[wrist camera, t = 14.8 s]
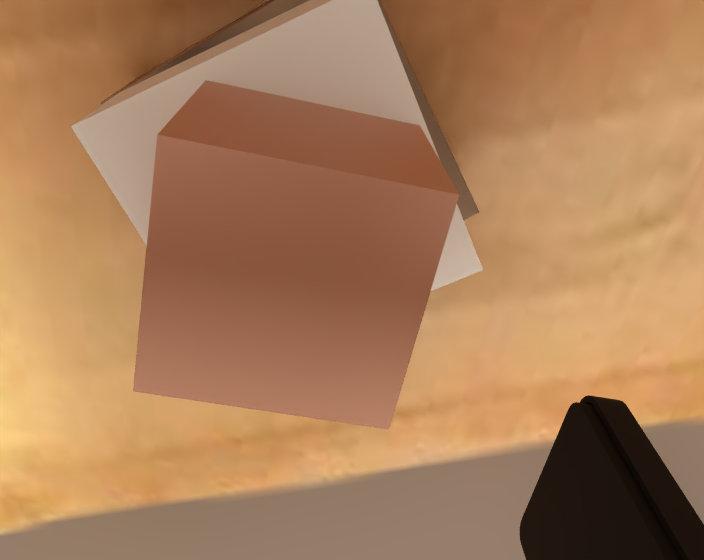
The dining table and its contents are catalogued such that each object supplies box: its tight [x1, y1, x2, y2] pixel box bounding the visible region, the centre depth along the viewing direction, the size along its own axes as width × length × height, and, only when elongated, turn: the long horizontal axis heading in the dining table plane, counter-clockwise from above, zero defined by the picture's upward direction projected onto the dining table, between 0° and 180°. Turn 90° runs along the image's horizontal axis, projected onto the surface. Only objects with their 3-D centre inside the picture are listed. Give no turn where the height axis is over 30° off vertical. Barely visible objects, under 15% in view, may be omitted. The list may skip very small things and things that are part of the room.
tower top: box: [71, 0, 483, 291], centre depth 22 cm, size 9×9×5 cm
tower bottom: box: [101, 0, 479, 220], centre depth 27 cm, size 10×10×5 cm
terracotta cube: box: [133, 80, 459, 429], centre depth 17 cm, size 6×6×6 cm
